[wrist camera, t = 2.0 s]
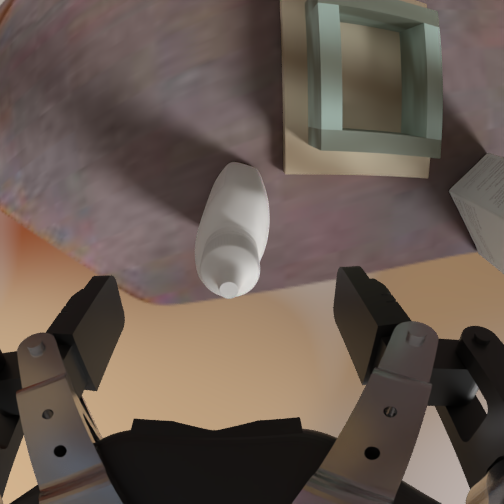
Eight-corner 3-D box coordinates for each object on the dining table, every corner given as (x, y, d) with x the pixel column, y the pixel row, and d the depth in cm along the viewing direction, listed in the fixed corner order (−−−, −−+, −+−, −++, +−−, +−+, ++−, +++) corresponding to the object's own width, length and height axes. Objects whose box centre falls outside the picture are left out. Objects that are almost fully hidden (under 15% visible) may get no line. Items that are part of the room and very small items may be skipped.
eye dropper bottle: (183, 207, 22) (135, 298, 12) (240, 151, 21) (242, 193, 10) (227, 247, 24) (219, 361, 13) (284, 195, 22) (326, 279, 11)
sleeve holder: (278, -17, 16) (287, -44, 12) (420, 6, 16) (451, -7, 12) (283, 171, 22) (294, 185, 18) (421, 175, 22) (454, 190, 18)
